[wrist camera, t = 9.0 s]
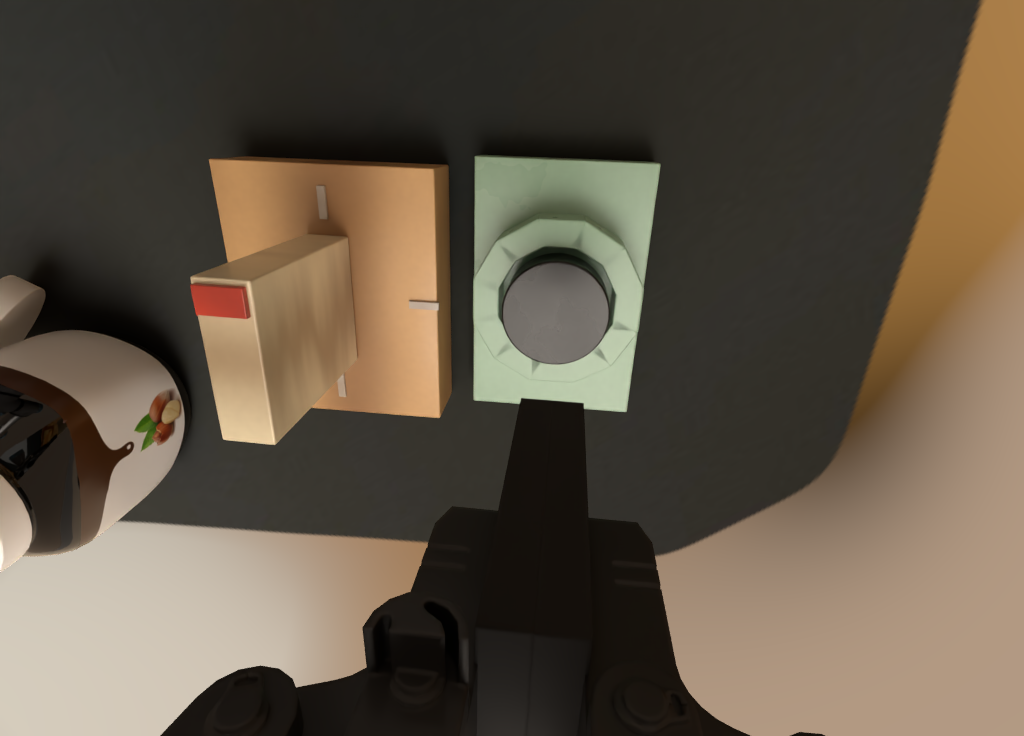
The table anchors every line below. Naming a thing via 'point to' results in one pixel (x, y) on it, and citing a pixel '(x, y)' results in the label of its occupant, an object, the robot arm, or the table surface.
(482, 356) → the button box
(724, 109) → the table surface
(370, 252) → the dial panel
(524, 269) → the button
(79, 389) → the spread jar
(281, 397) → the dial
